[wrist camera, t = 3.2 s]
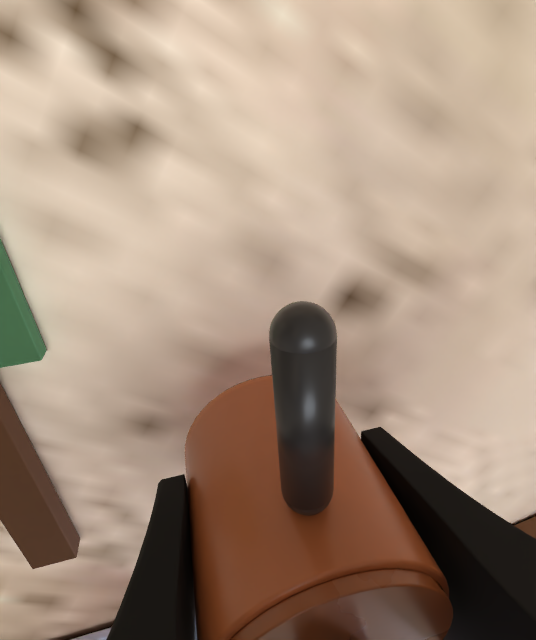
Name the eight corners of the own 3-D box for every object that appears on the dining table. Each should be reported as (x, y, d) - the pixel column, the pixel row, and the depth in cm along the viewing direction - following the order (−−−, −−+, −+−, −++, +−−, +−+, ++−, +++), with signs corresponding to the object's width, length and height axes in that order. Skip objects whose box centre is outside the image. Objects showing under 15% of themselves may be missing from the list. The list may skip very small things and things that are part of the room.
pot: (340, 475, 14) (465, 728, 8) (198, 512, 13) (227, 824, 7) (349, 215, 10) (641, 374, 4) (132, 245, 9) (73, 515, 3)
